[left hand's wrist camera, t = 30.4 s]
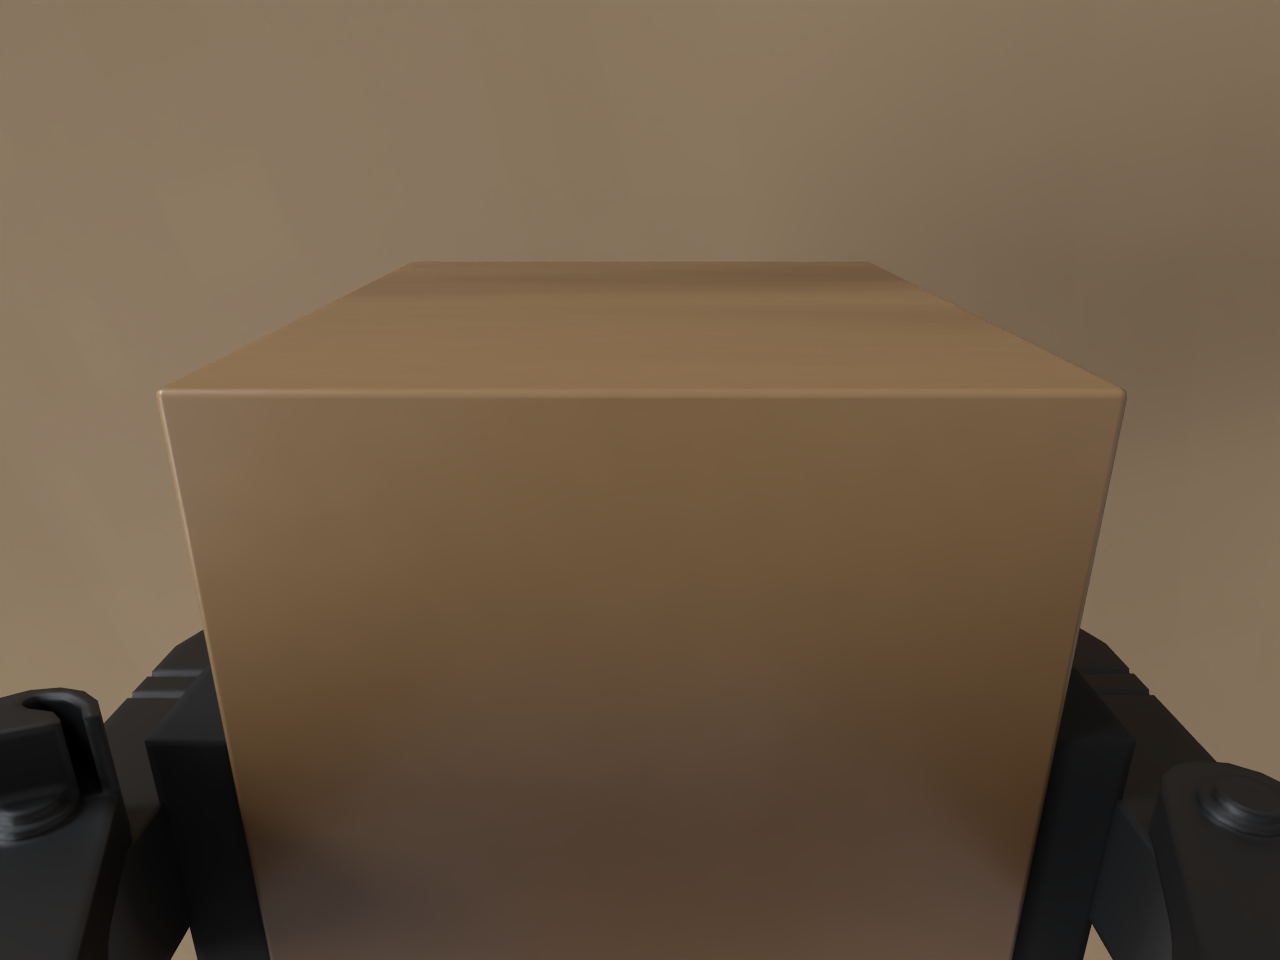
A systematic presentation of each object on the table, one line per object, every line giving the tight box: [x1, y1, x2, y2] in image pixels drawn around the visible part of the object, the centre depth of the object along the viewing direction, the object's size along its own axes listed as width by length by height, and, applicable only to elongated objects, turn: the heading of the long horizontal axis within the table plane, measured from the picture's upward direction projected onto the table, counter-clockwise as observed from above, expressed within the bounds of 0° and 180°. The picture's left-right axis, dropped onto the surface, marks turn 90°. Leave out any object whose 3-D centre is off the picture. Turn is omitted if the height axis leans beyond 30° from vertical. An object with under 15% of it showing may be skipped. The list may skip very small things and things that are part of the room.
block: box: [157, 262, 1127, 960], centre depth 12 cm, size 9×7×8 cm
